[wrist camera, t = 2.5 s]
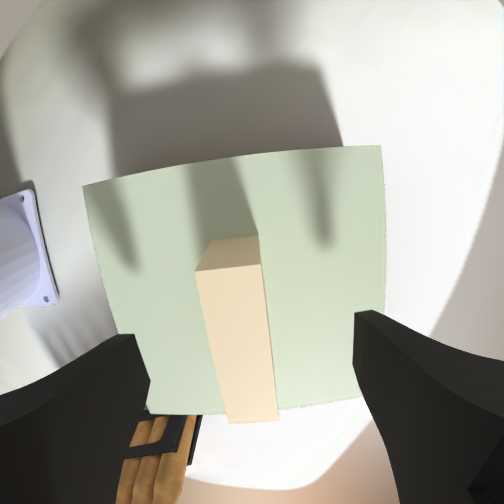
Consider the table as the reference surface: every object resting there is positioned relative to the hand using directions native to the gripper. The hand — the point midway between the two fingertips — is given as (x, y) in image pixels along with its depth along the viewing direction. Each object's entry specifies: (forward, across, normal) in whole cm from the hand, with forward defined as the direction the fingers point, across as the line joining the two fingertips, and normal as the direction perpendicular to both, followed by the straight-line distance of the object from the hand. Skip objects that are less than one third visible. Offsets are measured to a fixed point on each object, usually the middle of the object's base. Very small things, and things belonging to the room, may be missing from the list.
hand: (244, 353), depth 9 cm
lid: (+5, 0, 0) cm, 5 cm away
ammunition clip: (+8, +10, +12) cm, 18 cm away
